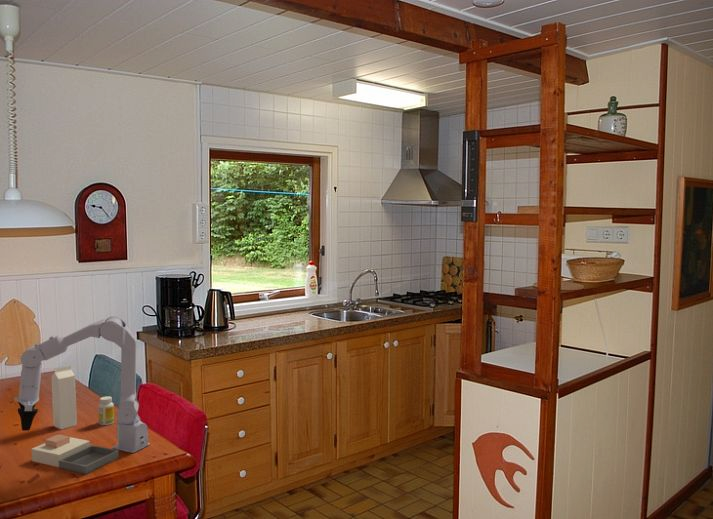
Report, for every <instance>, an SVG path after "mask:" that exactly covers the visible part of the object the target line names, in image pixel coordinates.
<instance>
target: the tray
mask: <svg viewBox="0 0 713 519" xmlns="http://www.w3.org/2000/svg"><path fill="white" fill-rule="evenodd" d="M119 452H120V450H116V449H112V448H108V447H103V446H99V445H93V444H92V445H91V444H90V446H89V447H87V448H85V449H83V450H81V451H78V452H76V453H74V454H72V455H70V456H68V457H65V458H63V459H61V460H59V467H58V469H60V470H64V471H70V472H74V473H76V474H77V473H78V474H81V473H82V474H83V475H89V474H90V473H93V472H94V471H96V470H98V469H100V468H102V467H104V466H106V465H109V464H110V463H112V462H114V461H115V460H118V459H119V458H120V453H119ZM82 474H81V475H82Z"/></svg>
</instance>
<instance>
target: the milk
mask: <svg viewBox="0 0 713 519" xmlns="http://www.w3.org/2000/svg"><path fill="white" fill-rule="evenodd" d="M50 377H51V398H52V399H51V400H52V401H51V402H52V419H53V420H52V421H53V424H52V425H53V427H55V428H57V429H58V430H64V429H68V428H71V427H76V426H77V424H78V421H77V420H78V418H77V397H76V396H77V393H76V374H75V373H74V371H73V370H72V366H71V365H67V366H61V367H57V368H55V369H54V373H53V374H52V375H51V376H50Z"/></svg>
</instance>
